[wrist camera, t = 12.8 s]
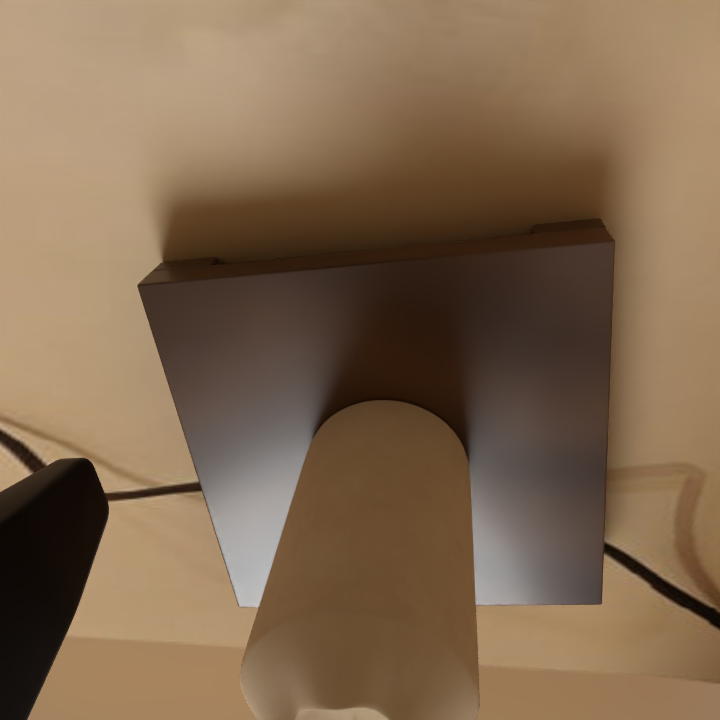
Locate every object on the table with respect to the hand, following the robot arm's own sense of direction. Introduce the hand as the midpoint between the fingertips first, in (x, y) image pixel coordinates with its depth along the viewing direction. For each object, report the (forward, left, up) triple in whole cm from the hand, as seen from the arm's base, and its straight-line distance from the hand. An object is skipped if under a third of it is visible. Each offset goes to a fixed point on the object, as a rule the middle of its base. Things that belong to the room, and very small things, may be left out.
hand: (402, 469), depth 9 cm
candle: (-8, +2, -11) cm, 14 cm away
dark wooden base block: (-8, +2, -13) cm, 15 cm away
